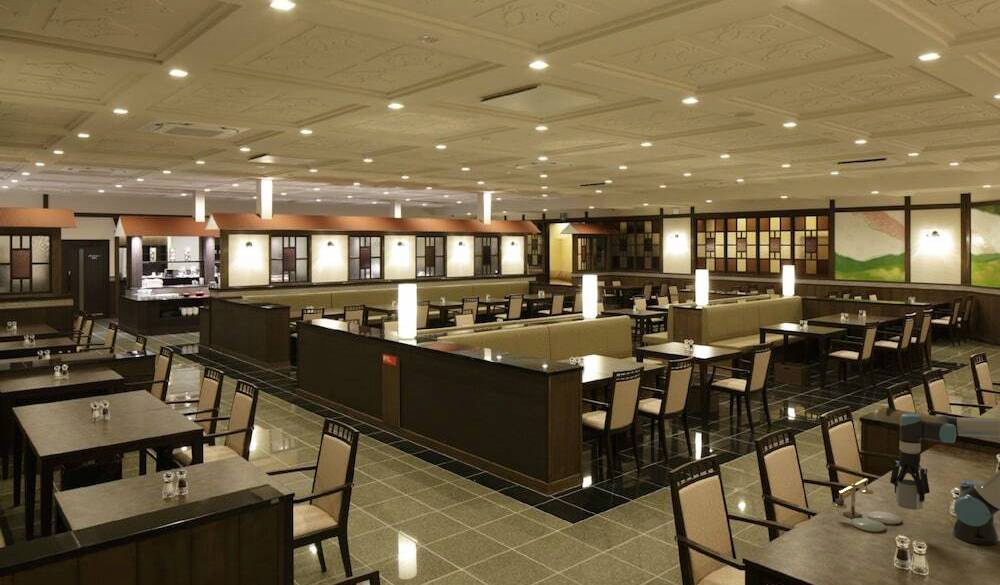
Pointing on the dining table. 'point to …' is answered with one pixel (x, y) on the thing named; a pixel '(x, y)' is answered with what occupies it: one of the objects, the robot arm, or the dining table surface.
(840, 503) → the balance
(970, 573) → the dining table surface
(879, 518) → the white dome
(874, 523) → the dish green
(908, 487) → the cup
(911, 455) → the robot arm
